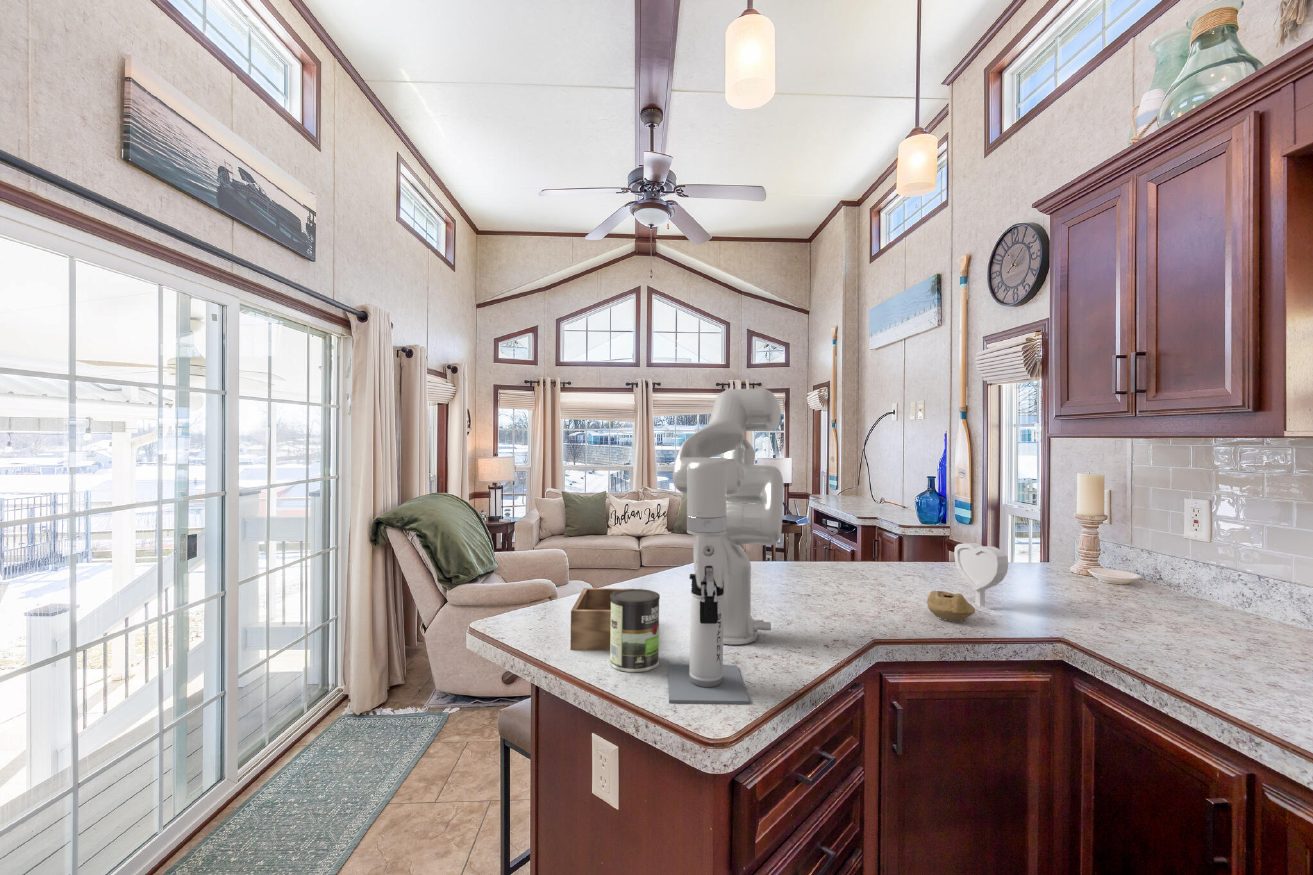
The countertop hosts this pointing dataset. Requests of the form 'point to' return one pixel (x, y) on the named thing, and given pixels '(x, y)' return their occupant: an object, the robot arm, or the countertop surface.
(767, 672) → the countertop surface
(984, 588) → the heart sculpture
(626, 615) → the coffee can
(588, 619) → the crate
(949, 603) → the oil lamp
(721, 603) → the travel mug
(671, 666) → the mat
